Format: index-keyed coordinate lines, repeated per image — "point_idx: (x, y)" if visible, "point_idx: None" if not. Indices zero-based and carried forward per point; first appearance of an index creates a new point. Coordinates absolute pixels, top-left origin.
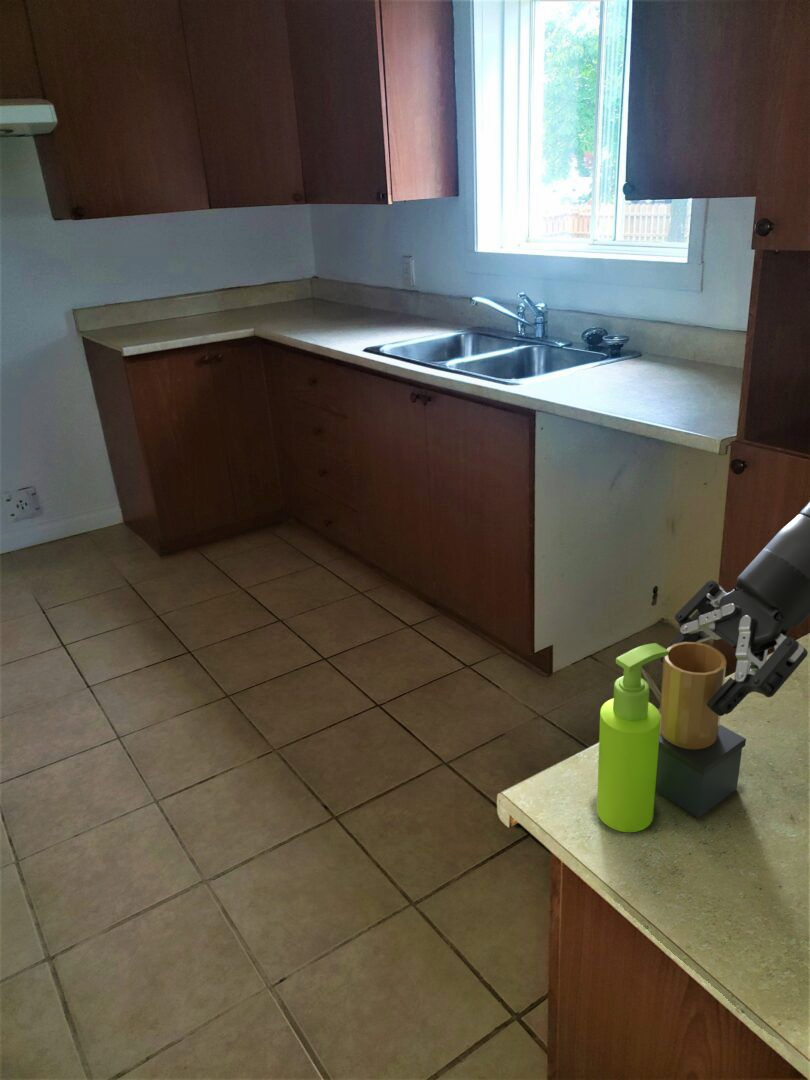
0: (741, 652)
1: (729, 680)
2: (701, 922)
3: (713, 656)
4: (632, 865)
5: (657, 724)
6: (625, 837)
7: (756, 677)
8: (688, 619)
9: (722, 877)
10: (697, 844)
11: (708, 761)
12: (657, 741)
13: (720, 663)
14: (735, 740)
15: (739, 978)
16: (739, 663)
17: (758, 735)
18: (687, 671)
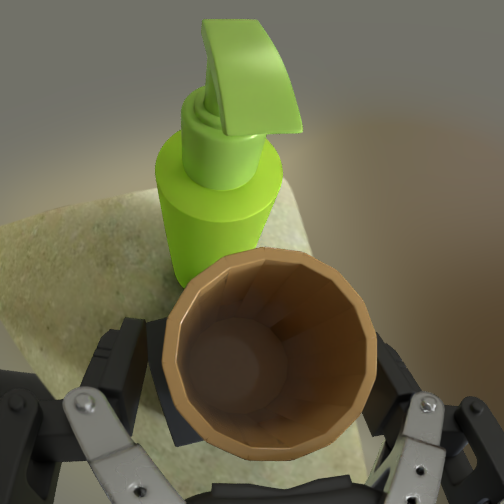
0: (120, 464)
1: (118, 382)
2: (50, 244)
3: (285, 441)
4: (136, 225)
5: (160, 189)
6: None
7: (21, 413)
8: (456, 431)
9: (75, 302)
10: (124, 311)
11: (151, 345)
12: (167, 219)
13: (236, 437)
14: (178, 427)
15: (4, 237)
16: (117, 438)
17: None
18: (214, 275)
